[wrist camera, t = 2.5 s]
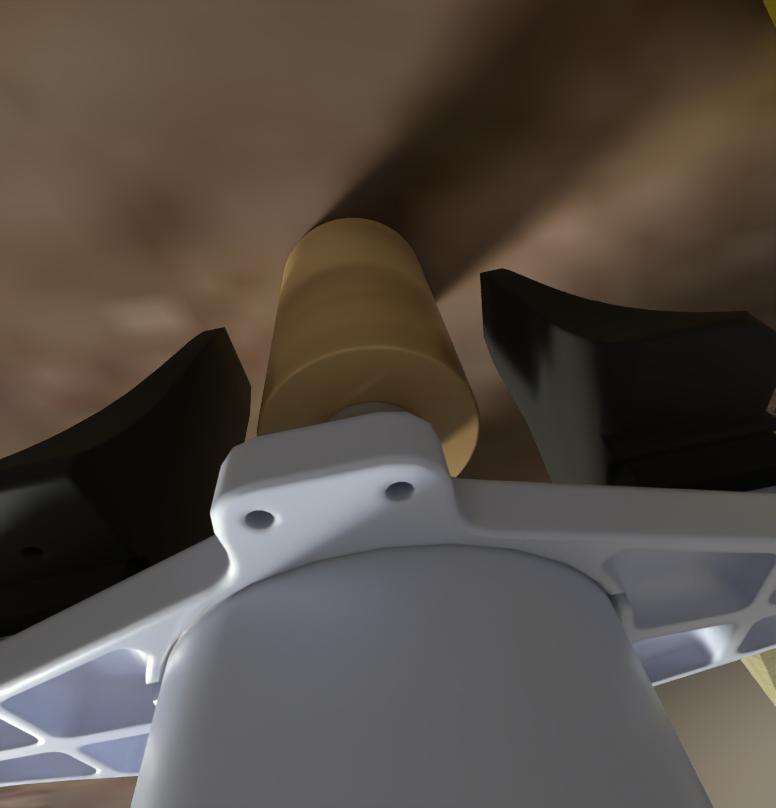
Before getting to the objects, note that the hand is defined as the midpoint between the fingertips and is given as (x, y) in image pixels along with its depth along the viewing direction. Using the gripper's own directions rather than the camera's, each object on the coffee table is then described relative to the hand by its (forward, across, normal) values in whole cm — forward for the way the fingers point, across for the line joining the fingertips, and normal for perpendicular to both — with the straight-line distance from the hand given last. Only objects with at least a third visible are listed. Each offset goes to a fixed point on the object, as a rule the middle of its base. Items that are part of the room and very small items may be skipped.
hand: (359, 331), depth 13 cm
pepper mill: (+3, 0, 0) cm, 3 cm away
